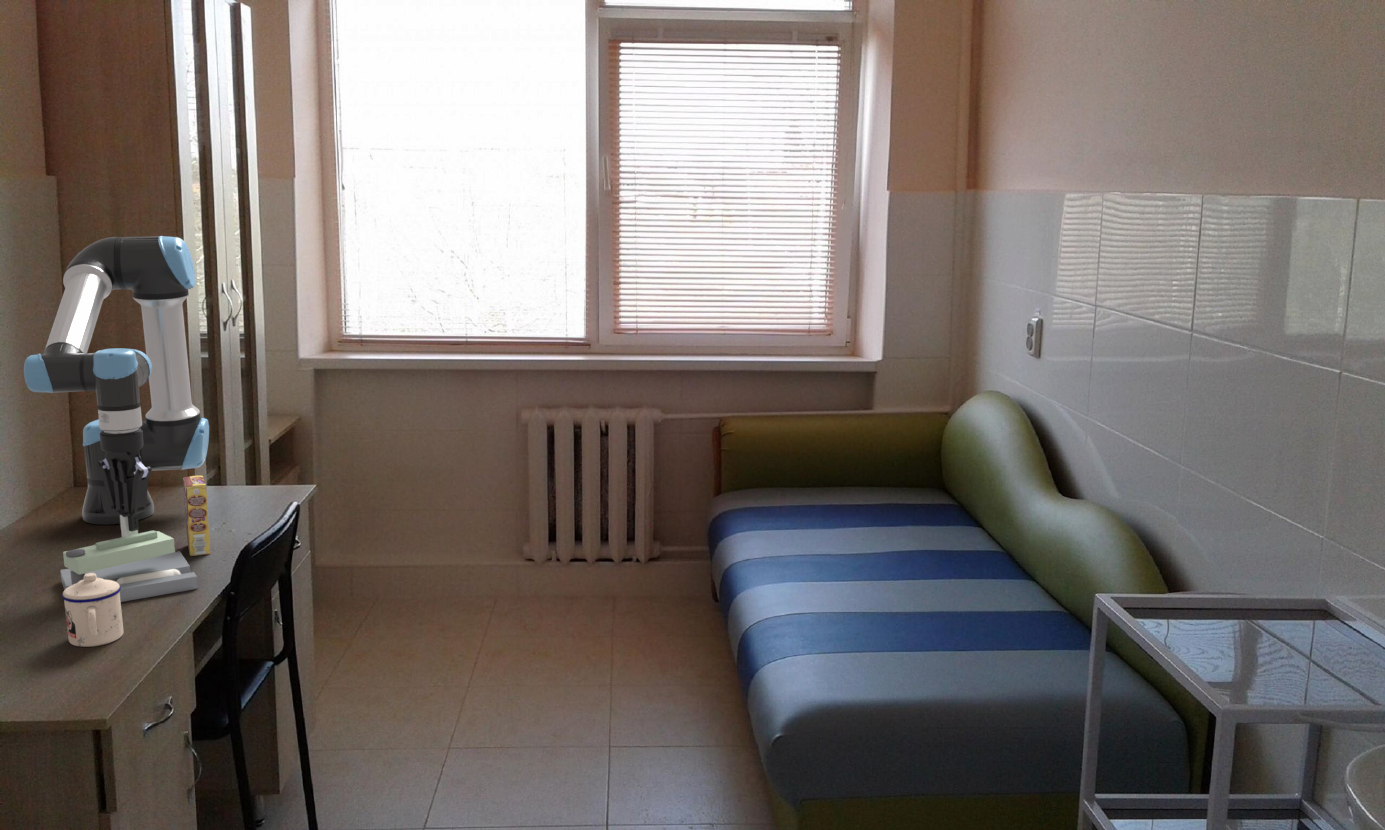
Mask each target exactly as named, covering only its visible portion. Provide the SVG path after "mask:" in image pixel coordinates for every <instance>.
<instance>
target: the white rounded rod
mask: <svg viewBox="0 0 1385 830" xmlns="http://www.w3.org/2000/svg"><path fill="white" fill-rule="evenodd" d="M179 574H181V573H180V572H179V571H178V570H176V569H170V570H164V571H158V572H152V573H146V574H140V575H133V576H127V577H122V578H119V579H118V580H117V581H116V582H117V583H118V584H119V585H120V584H126V583H132V582H138V581H144V580H150V579H156V578H162V577H168V576H174V575H179Z"/></svg>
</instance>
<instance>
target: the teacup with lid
mask: <svg viewBox="0 0 1385 830" xmlns="http://www.w3.org/2000/svg"><path fill="white" fill-rule="evenodd" d="M63 590H64V589H63ZM120 590H121V587H120V585H119V584H118V583H117V582H115V581H112V580H105V579H102V578H97V576H96V574H95V573H88V574H85V575H84V579H83V580H81V581H79V582H78V583H76V584H74V585H71V586H69V587H68V588H66V589H65V590H64V591H63V592H62V595H61V597H62V599H63V601H64V603H63V604H64V610H65V620H66V628H67V629H66V630H67V637H68V642H69V643H70V645H73V646H75V647H81V648H85V647H88V648H90V647H98V646H103V645H104V646H105V645H107V644H110V643H112V642H115V641H117V640H118V639H120V638H121V637H122V636H123V635H124V625H123V624H124V623H123V622H124V621H123V615H122V614H123V613H122V602H120Z"/></svg>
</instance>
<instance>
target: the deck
mask: <svg viewBox="0 0 1385 830" xmlns="http://www.w3.org/2000/svg"><path fill="white" fill-rule="evenodd" d="M170 569H176V570H178V571H179V572H180V573H181V574H179V575H174V576H168V577H162V578H156V579H150V580H144V581H138V582H132V583H126V584H120V587H121V590H120V602H121V603H122V602H123V603H124V602H128V601H134V600H135V601H136V600H140V599H146V598H151V597H157V596H163V595H168V594H174V593H175V594H176V593H180V592H186V591H192V590H197V589H199V585H198V576H197V574H196V573H195V572H194V571H191V565H190V564H189V562H188V561H187V560H186V558H185V557H184V556H183V554H182V552H181V550H179V551H175V552H174V553H170V554H165V555H161V556H157V557H152V558H148V559H144V560H140V561H135V562H131V563H127V564H123V565H118V566H114V567H110V568H106V569H101V570H97V571H93V572H88V573H95V574H96V576H97V578H102V579H105V580H112V581H115V582H116V581H117V580H118V579H119V578H122V577H127V576H133V575H140V574H146V573H152V572H158V571H164V570H170ZM59 571H60V572H59V573H60V580H61V584H62V587H63V590H65V589H66V588H68V587H69V586H71V585H74V584H76V583H78V582H79V581H81V580H83V579H84V575H85V574H88V573H84V574H80V575H79V574H77V573H75V572H74V571H72V570H70V569H69V568H65V569H60V570H59Z"/></svg>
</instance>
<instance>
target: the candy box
mask: <svg viewBox="0 0 1385 830" xmlns="http://www.w3.org/2000/svg"><path fill="white" fill-rule="evenodd" d="M182 481H183V494H184V495H183V496H184V509H185V510H184V513H185V525H186V526H185V527H186V539H187V541H186V543H187V548H188V551H189V556H190V557H194V556H203V555H206V556H207V555H210V554H211V548H210V547H211V546H210V545H211V544H210V530H209V529H210V525H209V511H208V493H207V490H208V489H207V484H206V481H205V477H204V476H203V475H192V476H191V475H190V476H185V477H184V476H183V477H182Z"/></svg>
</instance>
